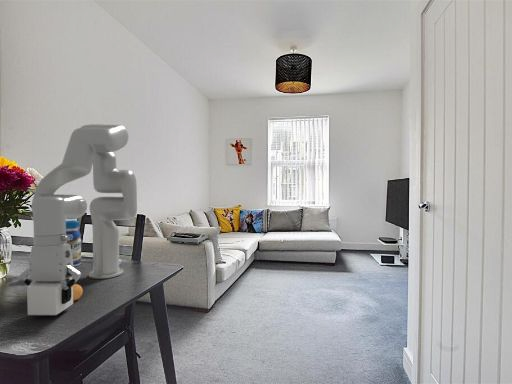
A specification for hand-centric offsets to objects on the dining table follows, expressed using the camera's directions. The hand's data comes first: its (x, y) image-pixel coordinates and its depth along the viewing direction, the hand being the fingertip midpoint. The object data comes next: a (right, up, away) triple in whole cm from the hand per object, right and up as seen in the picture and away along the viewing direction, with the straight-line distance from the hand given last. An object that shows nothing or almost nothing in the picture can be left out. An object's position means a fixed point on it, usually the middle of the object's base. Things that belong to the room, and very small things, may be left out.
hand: (51, 301), depth 86 cm
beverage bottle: (-26, -2, +52) cm, 58 cm away
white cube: (0, -2, 0) cm, 2 cm away
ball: (0, -1, +10) cm, 10 cm away
